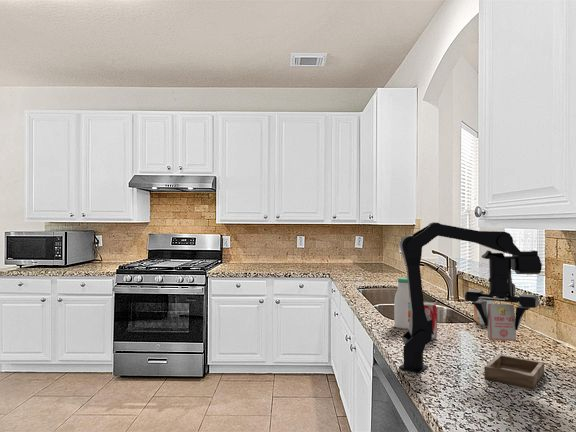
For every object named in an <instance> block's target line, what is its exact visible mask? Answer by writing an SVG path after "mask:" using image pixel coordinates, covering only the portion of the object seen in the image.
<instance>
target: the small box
mask: <svg viewBox="0 0 576 432" xmlns="http://www.w3.org/2000/svg"><path fill="white" fill-rule="evenodd" d="M485 301H487V306H486V308H487V314H488V304H494V301H493V300H485ZM473 320H474V321H475V322H476V323H477V324H479V325H482V326H483V325H484V326H485V324H484V322H483V319H482V317H481V315H480V313H479V311H478V310H477V308H476V306H475V305H473Z"/></svg>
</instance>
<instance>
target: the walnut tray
mask: <svg viewBox="0 0 576 432" xmlns="http://www.w3.org/2000/svg"><path fill="white" fill-rule="evenodd" d="M483 368H484V369H483V370H484V371H483V372H484V380H487V381H492V382H496V383H500V384H505V385H509V386H514V387H518V388H523V389H527V390H530V391H531V390H532V391H534V390H535V388H536V387H537V386H538V384H539V383H540V381H541V380H542V379H543V377H544V376H545V362H543V361H538V360H533V359H528V358H527V359H526V358H521V357H516V356H511V355H505V354H500V353H499V354H497V355H496V356H494V358H492V359H491V360H490V361H489V362H488V363H487V364H486V365H485V366H484V367H483Z"/></svg>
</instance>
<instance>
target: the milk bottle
mask: <svg viewBox="0 0 576 432" xmlns="http://www.w3.org/2000/svg"><path fill="white" fill-rule="evenodd" d="M397 284H398V286H397V288H396V289H397V290H396V292H395V294H394V303H393V305H394V306H393V307H394V309H393V310H394V314H393V315H394V327H395V328H398V329H404V330H406V329H407V330H409V319H410V314H411V307H410V298H409V289H408V279H407V277H398V278H397Z"/></svg>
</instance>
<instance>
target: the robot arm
mask: <svg viewBox="0 0 576 432" xmlns="http://www.w3.org/2000/svg"><path fill="white" fill-rule="evenodd" d="M437 237H444V238H448V239H455V240H458V241H465V242H469V243H470V242H471V243H473V244H474V243H475V244H476V245H477V244H478V245H480V246H482V247H485V248H488V250H486V252H485V253H484V254H482V255H481V258H482V259H484V260H488V264H489V265H488V266H489V270H488V271H489V278H488V282H489V283H488V284H489V285H488V289H489V292H488V293H485V291H484V290H482V289H469V290H467V291H466V292H465V293H464V301H465V302H471V305H472V306H474V305H475V306H476V308H477V310H478V311H479V313H480V315H481V317H482V319H483V322H484V324H485V325H484V326H485V327H487V326H488V325H487V308H486V306H487V301H485V300H493V302H504V303H515V304H517V306H516V307H515V329H516V331H518V330H519V327H520V324H521V321H522V319H523V317H524V314H525V312H526V311H529V310H530V309H531V308H532V309H536V308H537V307H538V306H539V305H540V297H539V296H538V295H537V294H530V293H522V294H521V295H519V296H518V295H516V285H515V283H514V282H513V277H512V271H514V272H515V274H517V275H540V274H541V273H542V261H541V259H540V258H541V257H540V255H539V254H538V251H537V250H522V251H521V250H520V249H519V247H517V246H516V244H515V243H514V238H513V236H512V235H511V233H509V232H507V231H502V230H501V231H500V230H475V229H469V228H464V227H459V226H453V225H447V224H441V223H440V222H437V221H436V222H434V221H433V222H430V223H429V224H427V226H425V227H422V229H420V230H418V231H416V232H414V233H413V234H412V235H411V234H408V235H405V236H403V237H402V238H401V239H400V241H399V248H400V252H401V255H402V258H403V261H404V263H405V267H406V268H405V269H406V276H407V277H406V278H407V279H408V289H409V298H410V307H411V314H410V319H409V329H407V331H406V332H405V333H404V334H403V335H402V336H401V340H402V342H403V344H404V345H403V346H402V347H403V351H402V353H403V363H402V364H401V365H399V366H398V369H400V370H404V371H409V372H413V373H417V374H420V373H421V372H423V371H425V370H426V369H428V368H429V365H427V364H424V351H425V348H426V346H427V345H428V344H429V343H430V342H431V341H432V340H431V339H432V334H434V333H433V330H432V320H431V318H430V317H429V316H426V315H425V311H424V302H425V301H424V293H423V285H422V275H421V260H422V252H423V247H425V246H427V244H429V243H430V242H432V241H433V240H434V239H435V238H437ZM489 249H491V250H493V251H498V252H492V251H491V250H489ZM505 254H508V255H505Z"/></svg>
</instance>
